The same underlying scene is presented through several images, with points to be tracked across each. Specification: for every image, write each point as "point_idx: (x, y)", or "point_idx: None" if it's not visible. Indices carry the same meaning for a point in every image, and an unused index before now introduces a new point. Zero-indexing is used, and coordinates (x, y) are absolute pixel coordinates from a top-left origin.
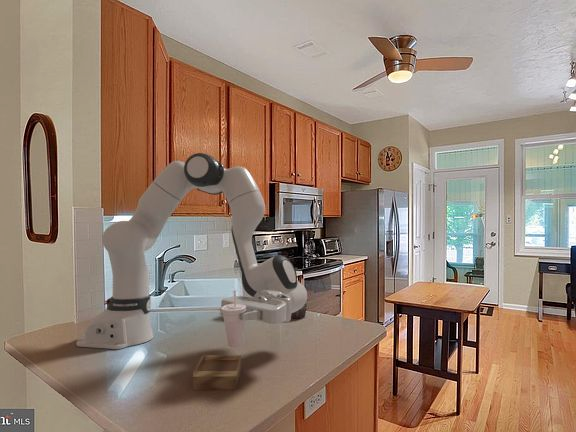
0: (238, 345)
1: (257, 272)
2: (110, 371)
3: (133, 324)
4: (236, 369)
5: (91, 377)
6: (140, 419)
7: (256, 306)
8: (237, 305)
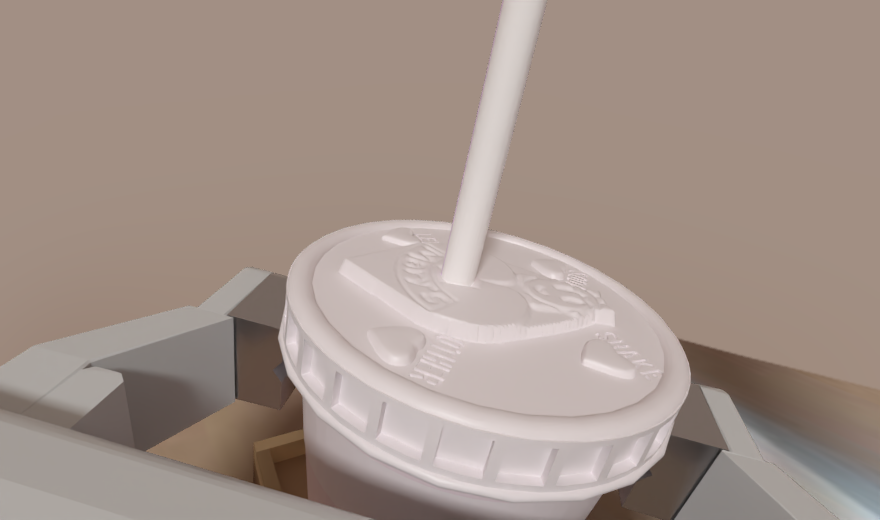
0: None
1: None
2: (832, 458)
3: None
4: (265, 467)
5: (800, 409)
6: None
7: (5, 439)
8: (461, 304)
